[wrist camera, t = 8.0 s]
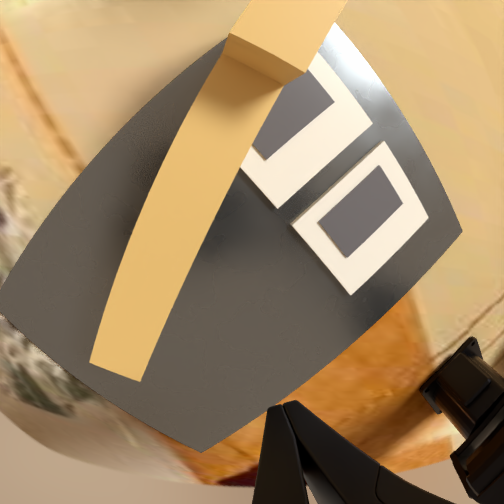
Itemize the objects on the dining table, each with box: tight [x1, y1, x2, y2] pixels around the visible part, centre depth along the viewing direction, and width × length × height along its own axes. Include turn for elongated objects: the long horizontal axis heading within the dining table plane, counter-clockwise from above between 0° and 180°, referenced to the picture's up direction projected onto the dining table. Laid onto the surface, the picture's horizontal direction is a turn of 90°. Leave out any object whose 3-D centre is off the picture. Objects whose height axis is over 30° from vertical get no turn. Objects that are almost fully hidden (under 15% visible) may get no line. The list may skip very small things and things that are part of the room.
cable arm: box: [89, 0, 348, 382], centre depth 10 cm, size 16×2×5 cm, turn 152°
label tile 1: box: [290, 141, 429, 295], centre depth 15 cm, size 5×6×1 cm
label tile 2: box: [240, 52, 373, 209], centre depth 12 cm, size 5×6×1 cm
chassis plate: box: [0, 22, 463, 453], centre depth 15 cm, size 16×22×1 cm
